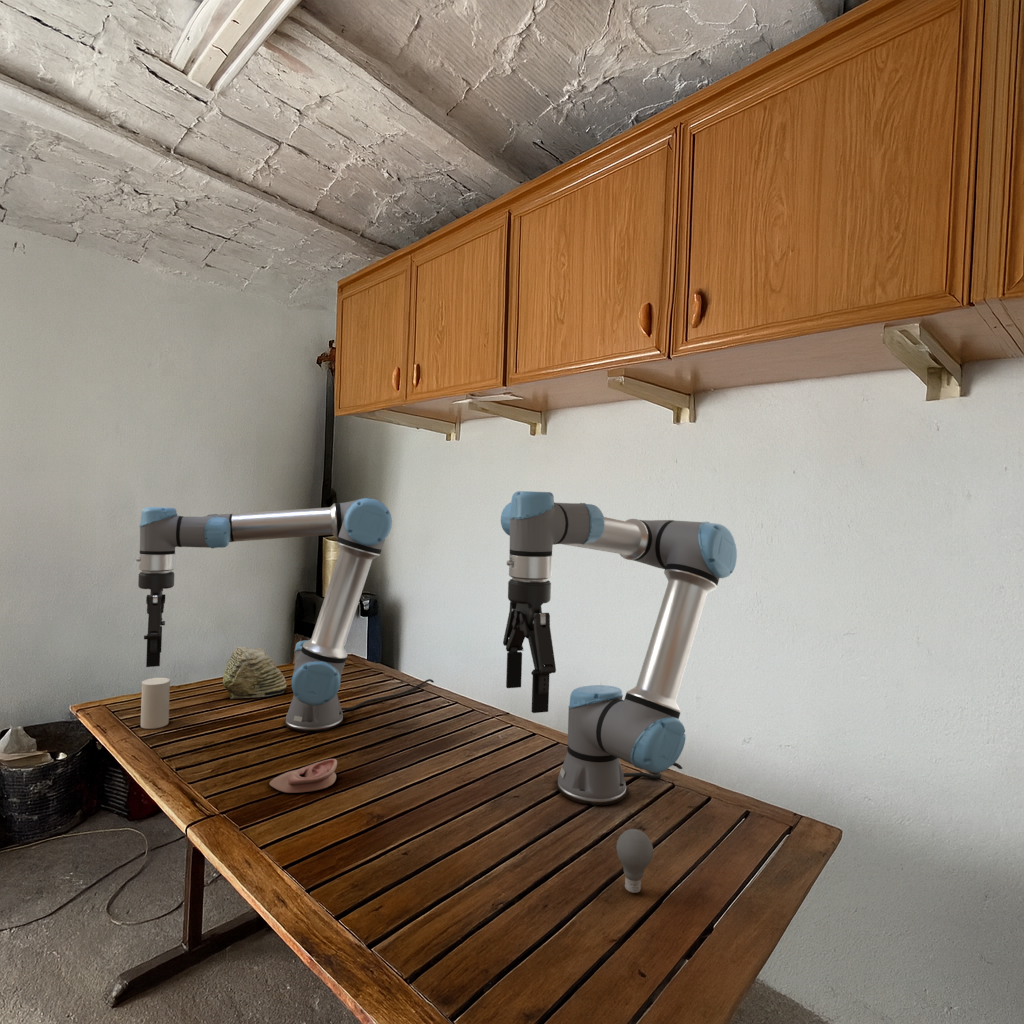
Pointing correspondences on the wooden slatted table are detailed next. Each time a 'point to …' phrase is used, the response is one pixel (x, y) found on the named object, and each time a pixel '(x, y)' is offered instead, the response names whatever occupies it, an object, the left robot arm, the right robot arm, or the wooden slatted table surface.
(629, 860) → the light bulb
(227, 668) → the fossil
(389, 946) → the wooden slatted table surface
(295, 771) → the anatomical model
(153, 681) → the canister
